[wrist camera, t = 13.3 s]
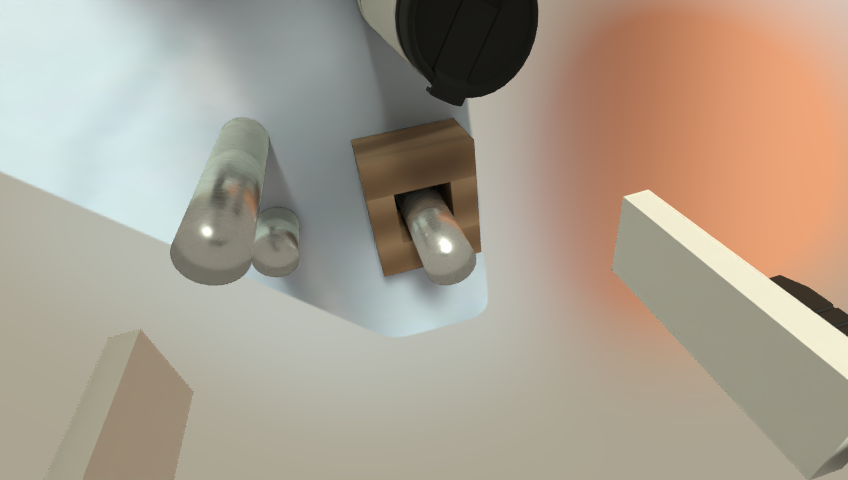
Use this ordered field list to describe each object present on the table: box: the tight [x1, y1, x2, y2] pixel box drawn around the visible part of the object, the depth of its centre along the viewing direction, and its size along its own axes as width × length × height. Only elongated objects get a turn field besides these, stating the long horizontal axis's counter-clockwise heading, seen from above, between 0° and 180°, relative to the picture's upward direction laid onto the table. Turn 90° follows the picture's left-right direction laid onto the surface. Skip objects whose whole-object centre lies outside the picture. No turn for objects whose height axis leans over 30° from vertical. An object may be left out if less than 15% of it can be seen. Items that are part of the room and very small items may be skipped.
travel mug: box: [357, 0, 538, 106], centre depth 26 cm, size 6×7×20 cm
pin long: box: [170, 118, 269, 285], centre depth 30 cm, size 4×4×18 cm
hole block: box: [351, 118, 481, 277], centre depth 42 cm, size 12×10×6 cm
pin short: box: [252, 207, 299, 277], centre depth 41 cm, size 4×4×6 cm
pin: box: [395, 185, 476, 285], centre depth 38 cm, size 4×4×14 cm
